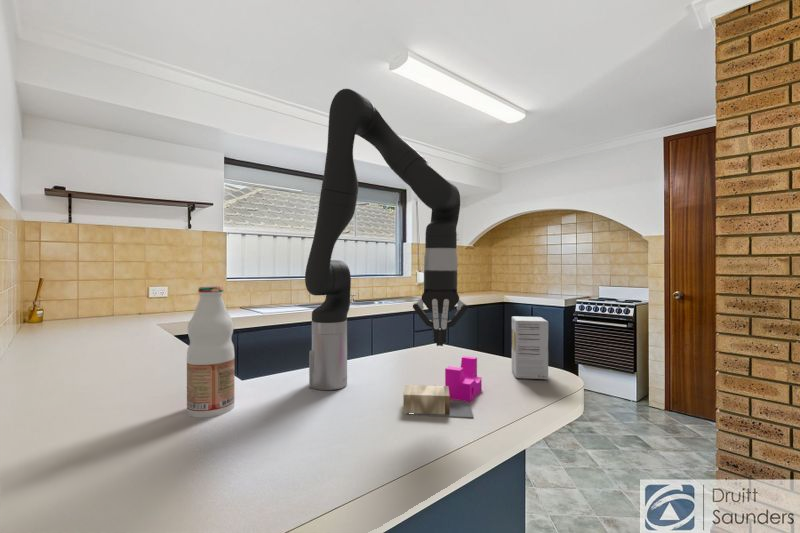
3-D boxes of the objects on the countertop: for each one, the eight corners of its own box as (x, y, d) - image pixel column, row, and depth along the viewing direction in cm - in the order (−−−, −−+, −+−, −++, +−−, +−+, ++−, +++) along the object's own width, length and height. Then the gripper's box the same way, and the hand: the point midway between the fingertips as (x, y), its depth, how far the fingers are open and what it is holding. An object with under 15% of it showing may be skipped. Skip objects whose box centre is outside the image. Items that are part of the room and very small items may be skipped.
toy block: (470, 403, 93) (469, 371, 93) (445, 399, 96) (445, 368, 96) (486, 385, 106) (486, 358, 106) (463, 382, 109) (463, 356, 109)
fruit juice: (185, 426, 79) (185, 288, 79) (187, 411, 87) (187, 286, 87) (235, 418, 83) (235, 287, 83) (233, 404, 92) (233, 285, 92)
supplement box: (511, 369, 122) (510, 316, 122) (541, 370, 121) (541, 316, 121) (515, 378, 112) (515, 320, 112) (549, 379, 111) (549, 320, 111)
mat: (398, 416, 84) (398, 414, 84) (402, 401, 93) (402, 400, 93) (473, 418, 83) (473, 416, 83) (469, 403, 92) (469, 402, 92)
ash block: (449, 414, 84) (403, 413, 85) (448, 403, 91) (405, 401, 92) (449, 395, 84) (403, 394, 85) (448, 386, 91) (405, 385, 92)
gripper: (410, 268, 85) (409, 348, 85) (471, 269, 84) (470, 349, 84) (412, 268, 92) (411, 341, 92) (468, 268, 91) (467, 342, 91)
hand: (439, 345), depth 88 cm, fingers closed
